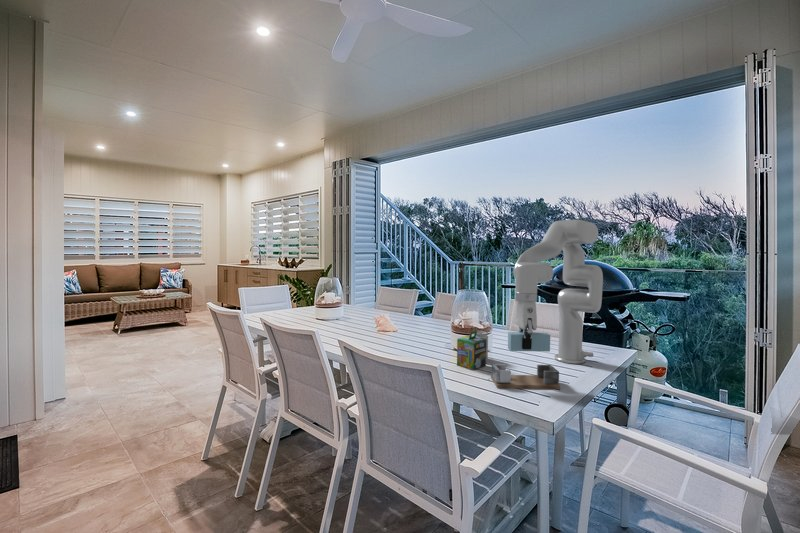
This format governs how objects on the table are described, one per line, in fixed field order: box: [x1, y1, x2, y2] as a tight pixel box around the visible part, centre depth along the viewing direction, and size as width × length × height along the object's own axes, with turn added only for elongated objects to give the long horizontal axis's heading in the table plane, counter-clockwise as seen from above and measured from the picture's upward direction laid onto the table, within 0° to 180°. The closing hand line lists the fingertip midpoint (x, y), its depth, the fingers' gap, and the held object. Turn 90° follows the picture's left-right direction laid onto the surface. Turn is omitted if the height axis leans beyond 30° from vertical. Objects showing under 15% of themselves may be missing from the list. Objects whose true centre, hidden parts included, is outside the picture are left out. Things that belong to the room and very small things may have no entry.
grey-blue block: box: [507, 331, 551, 352], centre depth 144 cm, size 14×4×6 cm, turn 89°
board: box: [490, 364, 561, 390], centre depth 145 cm, size 22×11×6 cm, turn 89°
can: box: [472, 330, 489, 360], centre depth 176 cm, size 8×8×12 cm
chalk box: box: [456, 330, 487, 371], centre depth 166 cm, size 9×9×15 cm
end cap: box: [491, 363, 512, 383], centre depth 145 cm, size 5×8×4 cm, turn 179°
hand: (524, 347), depth 144 cm, fingers closed on grey-blue block, 4 cm apart
